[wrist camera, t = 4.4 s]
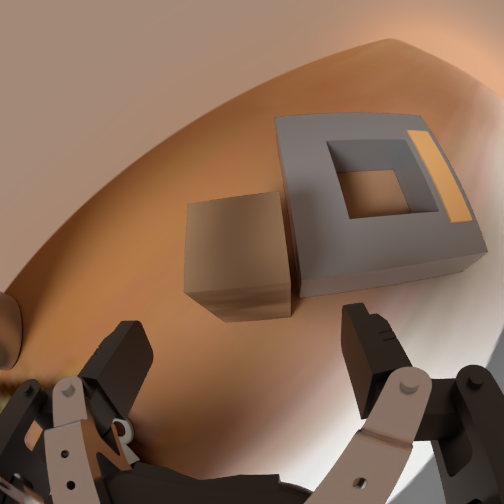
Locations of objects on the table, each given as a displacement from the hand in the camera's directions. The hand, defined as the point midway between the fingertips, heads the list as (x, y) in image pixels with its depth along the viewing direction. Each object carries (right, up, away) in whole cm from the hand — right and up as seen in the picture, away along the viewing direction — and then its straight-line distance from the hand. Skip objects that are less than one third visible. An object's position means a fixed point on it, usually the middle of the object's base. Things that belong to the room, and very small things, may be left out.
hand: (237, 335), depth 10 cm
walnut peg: (+1, +1, +9) cm, 9 cm away
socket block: (+10, +7, +11) cm, 16 cm away
